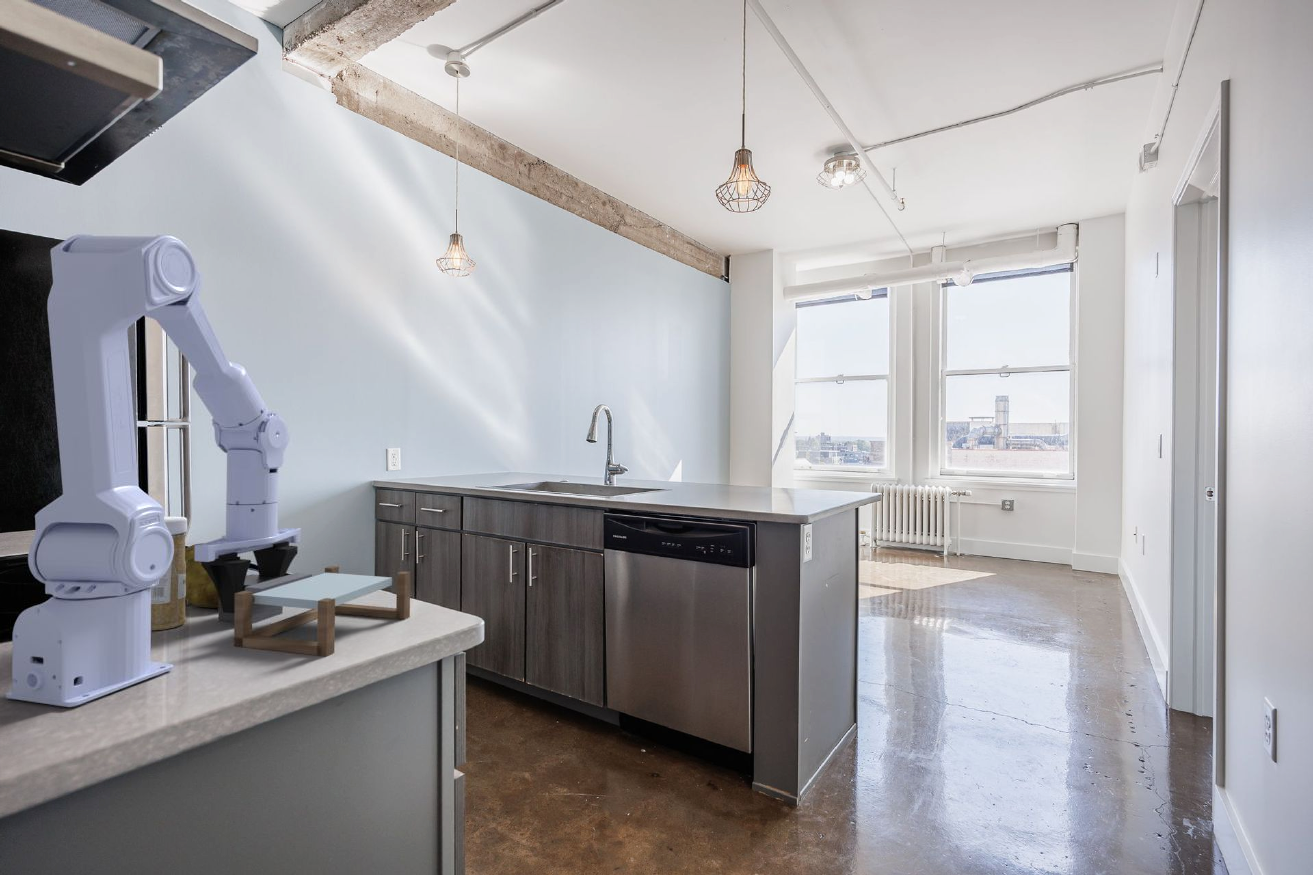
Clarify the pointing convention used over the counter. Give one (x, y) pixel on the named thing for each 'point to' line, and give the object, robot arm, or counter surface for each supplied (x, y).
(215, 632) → the counter surface
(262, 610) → the iron block
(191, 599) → the potato
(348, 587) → the trapdoor
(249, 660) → the counter surface
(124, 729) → the counter surface
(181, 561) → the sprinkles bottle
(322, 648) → the frame
